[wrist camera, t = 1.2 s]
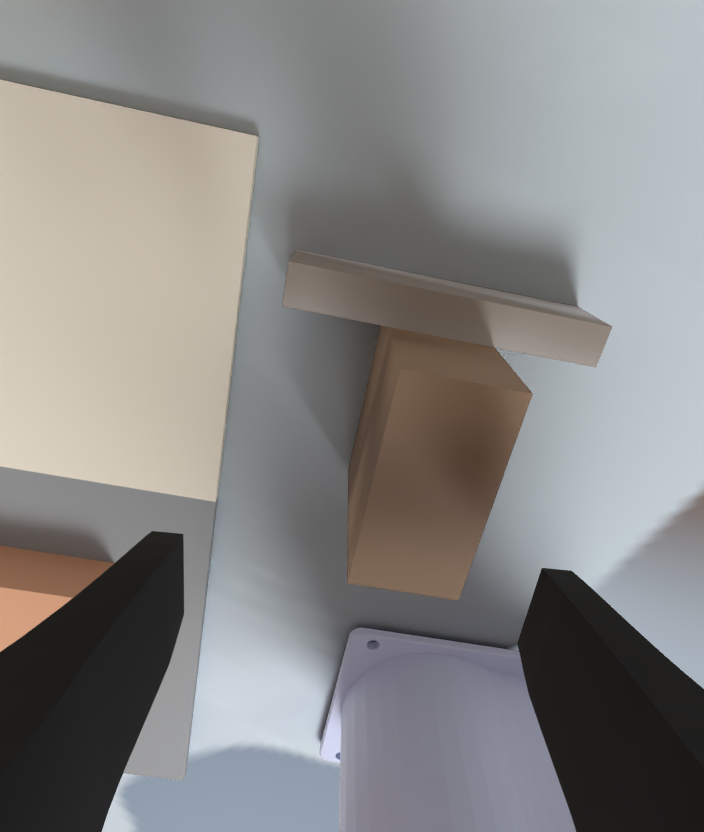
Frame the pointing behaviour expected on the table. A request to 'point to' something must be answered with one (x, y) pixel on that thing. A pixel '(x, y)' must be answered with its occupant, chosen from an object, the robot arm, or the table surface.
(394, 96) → the table surface
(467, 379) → the pusher
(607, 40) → the table surface
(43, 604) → the terracotta tile
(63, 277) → the board
